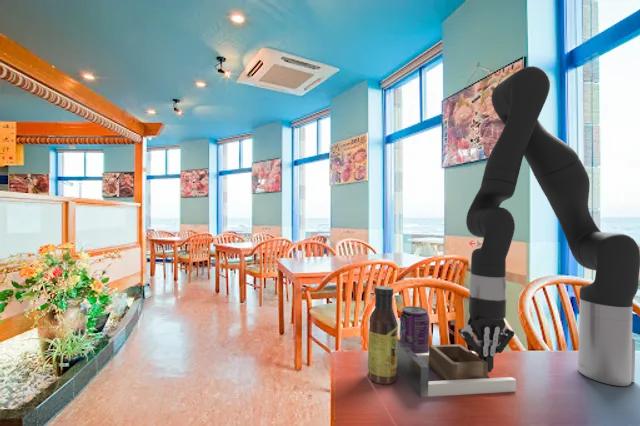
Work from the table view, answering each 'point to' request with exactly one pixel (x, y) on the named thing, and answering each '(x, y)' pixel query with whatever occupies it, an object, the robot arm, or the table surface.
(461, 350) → the crate
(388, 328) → the sauce bottle
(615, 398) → the table surface
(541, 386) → the table surface
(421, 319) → the beverage can
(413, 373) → the bay
